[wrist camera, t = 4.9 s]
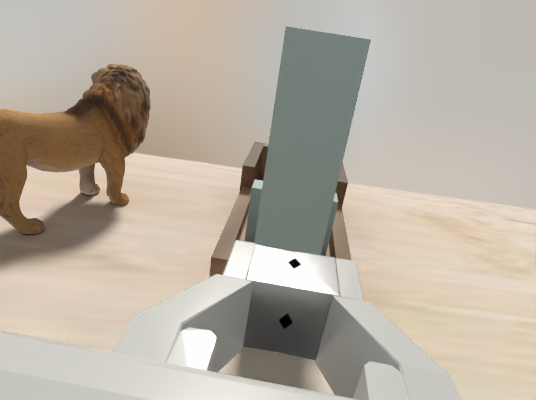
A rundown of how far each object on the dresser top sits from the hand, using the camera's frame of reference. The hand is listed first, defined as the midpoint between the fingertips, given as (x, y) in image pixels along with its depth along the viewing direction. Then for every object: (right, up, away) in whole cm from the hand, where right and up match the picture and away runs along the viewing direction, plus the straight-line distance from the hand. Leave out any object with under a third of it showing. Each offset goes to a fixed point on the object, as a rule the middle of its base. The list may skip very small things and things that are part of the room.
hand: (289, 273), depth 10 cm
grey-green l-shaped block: (0, -1, +10) cm, 10 cm away
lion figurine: (-14, +1, +16) cm, 21 cm away
